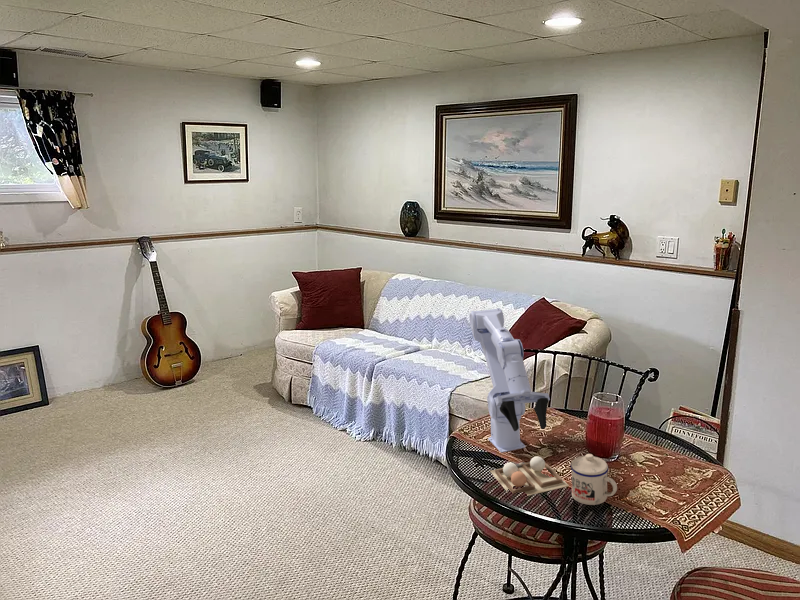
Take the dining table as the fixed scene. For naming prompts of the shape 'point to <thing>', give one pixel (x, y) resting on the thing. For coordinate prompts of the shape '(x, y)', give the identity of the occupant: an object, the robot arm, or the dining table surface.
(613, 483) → the teacup with lid
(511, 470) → the cream ball
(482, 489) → the dining table surface
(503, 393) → the robot arm
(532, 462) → the cream ball
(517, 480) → the ball terracotta
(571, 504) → the dining table surface
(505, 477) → the trough board
